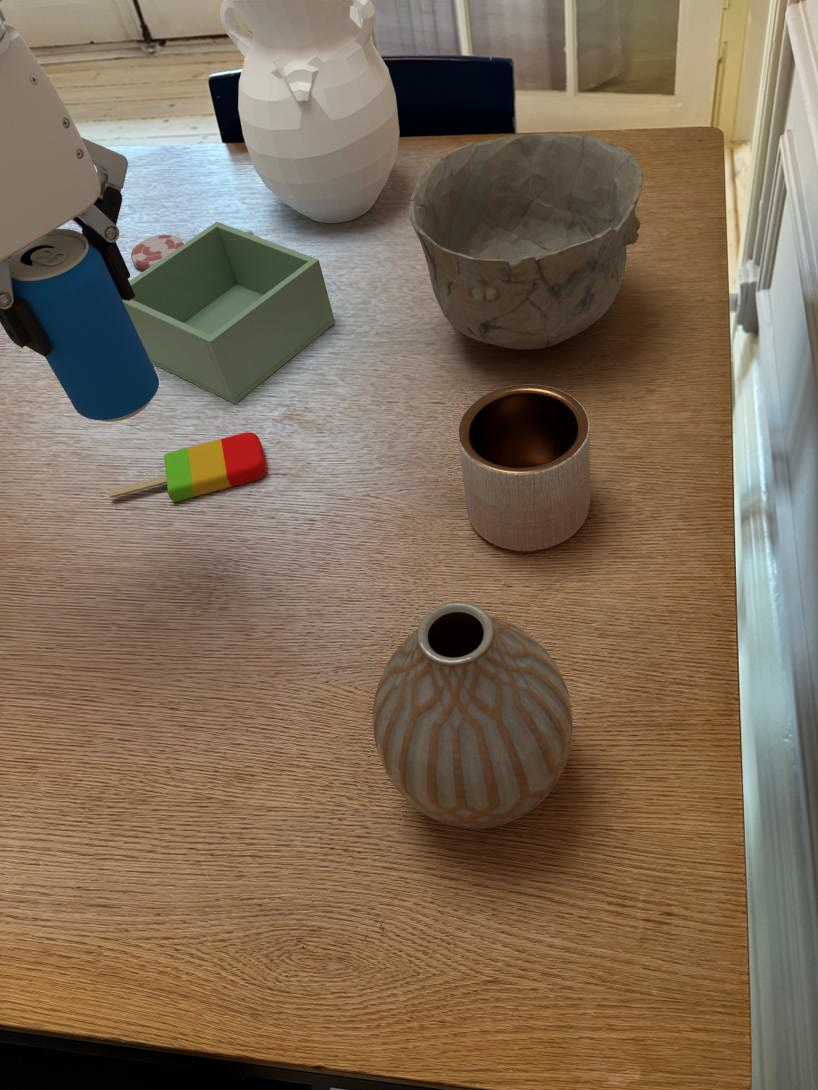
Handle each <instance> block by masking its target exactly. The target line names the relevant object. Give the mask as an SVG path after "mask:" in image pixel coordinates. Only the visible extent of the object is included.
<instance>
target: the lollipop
mask: <svg viewBox="0 0 818 1090" xmlns="http://www.w3.org/2000/svg"><path fill="white" fill-rule="evenodd" d="M245 232H246V233H249V234H251V235H254V231H253V230H247V231H245ZM183 244H185V242H184V241H183V240H182V239H181V238H180V237H178V236H177V235H172V234H160V235H155V236H151V237H148V238H145V239H143V240H142V241H140V242H139V243H138V244H136V245H135V246H134V247H133V248H132V251H131V252H130V260H131V262H132V263H133V265H134V266H135V267H136V268H137V269H139V270H142V271H145V270H146V269H148V268H149V267H151V266H152V265H154V264H155V263H157V262H158V261H160V260H161V259H163V258H164V257H165V256H167V255H168V254H170V253H171V252H173V251H174V250H176V249H177V248H179V247H180V246H182V245H183Z"/></svg>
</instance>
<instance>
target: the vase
mask: <svg viewBox="0 0 818 1090" xmlns="http://www.w3.org/2000/svg"><path fill="white" fill-rule="evenodd" d="M573 719H574V718H573V709H572V704H571V697H570V693H569V689H568V686H567V684H566V682H565V679H564V677H563V674H562V672H561V670H560V668H559V667H558V665H557V663H556V662H555V661H554V659H553V658H552V656H551V655H550V654H549V653H548V651H547V650H546V649H545V648H544V646H543V645H541V643H540V642H538V641H537V640H536V639H535V638H534V637H533V636H532V635H530V634H529V633H528V632H526V631H525V630H524V629H522V628H521V627H519V626H517V625H515V624H513V623H511V622H509V621H507V620H504V619H502V618H500V617H498V616H493V615H489V614H488V613H487V611H486V610H484V609H483V608H482V607H480V606H478V605H476V604H473V603H470V602H466V601H451V602H445V603H442V604H440V605H438V606H436V607H434V608H432V609H431V610H430V611H428V612H427V613H426V614H425V615H424V617H423V618H422V619H421V621H420V622H419V624H418V627H417V629H416V630H415V631H414V632H412V633H411V634H410V635H409V636H408V637H407V638H406V639H405V640H403V642H402V643H401V644H400V645H399V646H398V647H397V648H396V650H395V651H394V652H393V654H392V655H391V656H390V658H389V660H388V662H387V664H386V666H385V667H384V669H383V672H382V674H381V676H380V678H379V681H378V684H377V688H376V691H375V696H374V700H373V708H372V730H373V737H374V742H375V747H376V750H377V753H378V757H379V760H380V762H381V765H382V767H383V769H384V772H385V773H386V775H387V777H388V779H389V781H390V782H391V784H392V785H393V787H394V788H395V789H396V791H397V792H398V793H399V794H400V796H401V797H402V798H403V799H404V800H405V801H406V802H407V803H408V804H409V805H411V806H412V807H413V808H414V809H416V810H417V811H418V812H420V813H422V814H423V815H425V816H426V817H428V818H431V819H432V820H435V821H437V822H439V823H442V824H444V825H447V826H451V827H455V828H456V827H457V828H463V829H469V830H470V829H474V830H475V829H476V830H477V829H479V830H480V829H481V830H482V829H490V828H494V827H500V826H503V825H506V824H509V823H512V822H513V821H516V820H517V819H519V818H522V817H524V816H525V815H526V814H528V813H529V812H531V811H532V810H534V809H535V808H536V807H538V806H539V805H540V804H541V803H542V802H543V801H544V800H545V799H546V798H547V797H548V796H549V794H550V793H551V792H552V791H553V789H554V788H555V786H556V785H557V783H558V782H559V780H560V778H561V777H562V775H563V773H564V771H565V769H566V766H567V764H568V761H569V757H570V753H571V749H572V743H573V732H574V720H573Z"/></svg>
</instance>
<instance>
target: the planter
mask: <svg viewBox="0 0 818 1090" xmlns="http://www.w3.org/2000/svg"><path fill="white" fill-rule="evenodd" d="M456 432H457V434H456V435H457V444H458V451H459V459H460V465H461V474H462V482H463V487H464V488H463V489H464V497H465V498H464V499H465V506H466V512H467V516H468V519H469V522H470V523H471V526H472V527H473V529H474V531H475V532H476V533H477V534H478V535H479V536H480V537H481V538H482V539H484V540H485V541H487V542H489V543H490V544H492V545H494V546H496V547H499V548H501V549H506V550H509V551H515V552H535V551H542V550H546V549H550V548H553V547H555V546H558V545H560V544H562V543H564V542H566V541H568V540H569V539H570V538H571V537H573V536H574V535H575V534H577V532H578V531H579V530H580V529H581V528H582V526H583V525H584V523H585V522H586V520H587V518H588V514H589V511H590V506H591V423H590V418H589V415H588V413H587V411H586V409H585V408H584V406H583V405H582V404H581V403H580V401H578V400H577V399H576V398H575V397H573V396H572V395H570V394H569V393H567V392H565V391H563V390H560V389H558V388H555V387H552V386H547V385H544V384H543V385H542V384H534V383H533V384H529V383H528V384H524V383H523V384H515V385H509V386H505V387H501V388H498V389H495V390H493V391H490V392H488V393H486V394H484V395H483V396H481V397H479V398H477V399H476V400H475V401H473V402H472V403H471V404H470V405H469V406H468V407H467V409H466V410H465V411H464V412H463V414H462V415H461V418H460V419H459V422H458V426H457V431H456Z"/></svg>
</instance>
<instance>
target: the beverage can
mask: <svg viewBox="0 0 818 1090" xmlns="http://www.w3.org/2000/svg"><path fill="white" fill-rule="evenodd" d="M9 264H10V272H11V281H12V289H13V293H14V295H15V296H17V297H19V298H21V299H22V300H24V301H25V302H26V303H27V304H28V306H29V308H30V310H31V311H32V313H33V315H34V317H35V318H36V320H37V322H38V324H39V325H40V327H41V329H42V331H43V332H44V334H45V336H46V338H47V339H48V341H49V343H50V345H51V347H52V350H51V352H52V353H50V354H49V355H47V356H46V357H44V358H45V360H46V361H47V364H49V366H50V369H51V370H52V372H53V374H54V375H55V378H57V380H58V383H59V384H60V385H61V387H62V389H63V390H64V391H63V392H64V393H65V394H66V396H67V397H68V398H67V399H69V401H70V403H71V404H72V406H73V408H74V409H75V411H76V412H77V413H78V414H79V415H80V416H82V417H83V418H86V419H88V420H92V421H100V422H107V423H109V422H111V423H113V422H119V421H120V422H121V421H125V420H127V419H129V418H132V417H134V416H136V415H138V414H140V413H141V412H142V411H144V410H145V409H146V408H147V407H148V406H149V404H150V403H151V401H152V400H153V399H154V397H155V396H156V394H157V392H158V390H159V387H160V379H159V376H158V374H157V371H156V370H155V368H154V364H153V363H151V361H150V359H149V356H148V354H147V352H146V350H145V348H144V346H143V344H142V341H141V339H140V337H139V335H138V333H137V331H136V329H135V326H134V324H133V322H132V320H131V318H130V316H129V314H128V311H127V309H126V307H125V305H124V303H123V301H122V298H121V296H120V294H119V292H118V290H117V288H116V286H115V283H114V281H113V279H112V277H111V275H110V273H109V271H108V268H107V266H106V264H105V262H104V260H103V258H102V256H101V254H100V252H99V251H98V250H97V249H96V248H95V247H93V246H92V245H91V244H89V243H88V242H87V239H86V238H85V236H84V235H82V232H80V231H77V230H74V229H69V228H57V229H55V230H54V231H52V232H50V233H49V234H47V235H45V236H44V237H42V238H40V239H39V240H37V241H35V242H33V243H32V244H30V245H28V246H27V247H25V248H23V249H22V250H20V251H18V252H16V253H15V254H13V255H11V256H9Z"/></svg>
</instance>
